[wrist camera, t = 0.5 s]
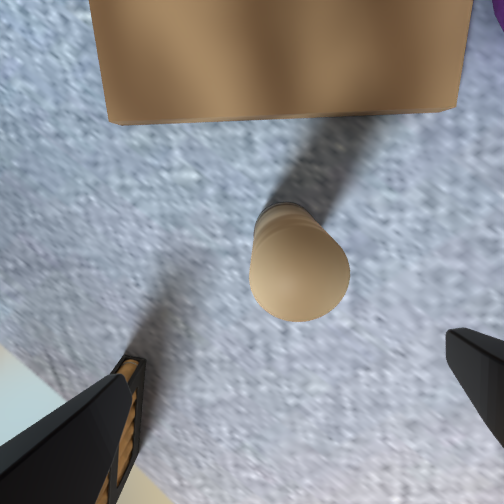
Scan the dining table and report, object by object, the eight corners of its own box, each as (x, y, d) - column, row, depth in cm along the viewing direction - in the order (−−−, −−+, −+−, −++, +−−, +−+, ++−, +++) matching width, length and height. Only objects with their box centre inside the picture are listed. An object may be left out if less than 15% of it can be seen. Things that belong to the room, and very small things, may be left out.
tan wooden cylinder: (316, 201, 18) (355, 225, 10) (314, 260, 19) (347, 322, 12) (253, 202, 18) (245, 228, 11) (255, 262, 20) (249, 323, 12)
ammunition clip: (123, 354, 22) (-27, 553, 11) (146, 358, 22) (21, 561, 11) (117, 452, 25) (-3, 687, 14) (137, 455, 25) (34, 693, 14)
